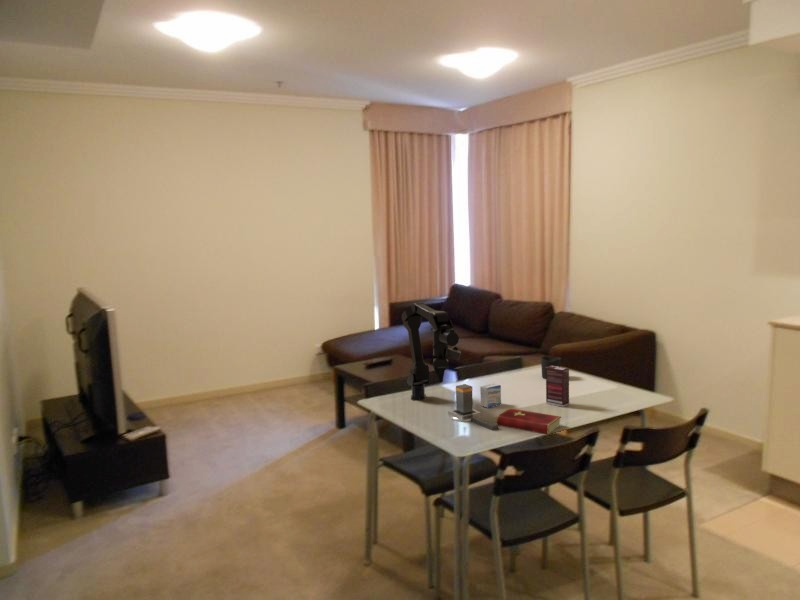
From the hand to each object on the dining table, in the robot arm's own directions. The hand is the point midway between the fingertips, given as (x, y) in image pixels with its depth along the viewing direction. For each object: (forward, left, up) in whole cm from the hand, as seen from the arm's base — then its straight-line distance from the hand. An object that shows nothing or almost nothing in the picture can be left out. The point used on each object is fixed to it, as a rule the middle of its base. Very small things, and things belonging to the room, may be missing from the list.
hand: (440, 379), depth 252 cm
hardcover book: (+21, +33, -14) cm, 41 cm away
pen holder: (-49, +55, -13) cm, 75 cm away
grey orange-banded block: (+10, +9, -12) cm, 18 cm away
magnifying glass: (+15, +13, -13) cm, 24 cm away
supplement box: (-5, +49, -13) cm, 51 cm away
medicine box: (-5, +21, -13) cm, 25 cm away
